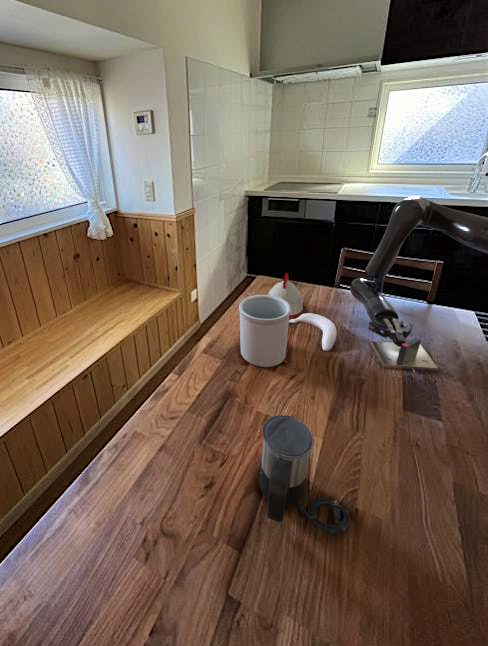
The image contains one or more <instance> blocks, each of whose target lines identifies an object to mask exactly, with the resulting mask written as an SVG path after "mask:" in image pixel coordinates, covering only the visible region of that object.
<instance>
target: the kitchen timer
mask: <svg viewBox="0 0 488 646" xmlns="http://www.w3.org/2000/svg"><path fill="white" fill-rule="evenodd" d="M289 277H290V276H289V273H287V272H286V273H285V274H284V277H283V280H282V281H279V282H278V283H276V284H275V285H274V286H272V288H270V289H269V290H268V292H267V294H266V295H272V296H276V297H279V298H281V299H283V300H285V301H286V302H287V303H288V304H289V306H290V315H289V320H291V319H296V318H298V317H299V316H300V315H302V314H303V311H304V308H303V307H304V302H303V300H304V299H303V293H302V292H300V291H299V289H298V288H297V286H296V285H295V284H294V283H292V282H290V281H289Z"/></svg>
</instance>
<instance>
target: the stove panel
mask: <svg viewBox="0 0 488 646" xmlns="http://www.w3.org/2000/svg"><path fill="white" fill-rule="evenodd" d="M370 345H371V347H372V349H373V351H374V353H375V355H376V357H377V358H378V360H379V362H380V364H381V366H382V368H384V369H385V368H386V369H400V370H412V372H413V373H416V371H429V372H438V371H439V367H438V365H436V363H435V361H434V360H433V359H432V358H431V356H430V355H429V354H428V352H427V351H426V350H425V347H423V346H422V344H421V343H420V346H419V349H418V352H417V356H416V357H415V358H413V359H411V360H410V361H408V362H406V363H405V364H403V365H401V364H399V363H398V362H397V358H398V355H399V351H400V347H398V346H397V345H395V344H394V342H387V341H371V343H370Z"/></svg>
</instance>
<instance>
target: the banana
mask: <svg viewBox="0 0 488 646" xmlns="http://www.w3.org/2000/svg"><path fill="white" fill-rule="evenodd" d="M289 323H293V324H296V323H303V324H310V325H313V326H315V327H316V328H318V329H320V331H322V338H321V348H322V350H323V351H325V352H329V351H330V350H331V349H333V347H334V345H335V343H336V340H337V335H338V332H337V331H338V330H337V327H336V325H335V323H334V322H332V320H330V319H329V318H326V317H325V316H323V315H320V314H316V313H313V312H312V313H311V312H307V313H302V314H301V315H300V316H299V317H297V318H294V319H289Z"/></svg>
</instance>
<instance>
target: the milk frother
mask: <svg viewBox="0 0 488 646" xmlns="http://www.w3.org/2000/svg"><path fill="white" fill-rule="evenodd" d="M261 436H262V449H261V461H260V462H261V463H260V472H259V487H260V490H261V492H262V493H263V495H264V497H265V498H266V499H267V511H266V515H267V518H268V519H270V520H272V521H274V522H277V523H282V522H283V521H284V517H285V516H284V515H285V508H290V507H294V506H296V507H297V508H298V509H299V511H301V514H302V515H303V516H304V517H305V518H306V520H308V522H309V523H310V524H311V525H312V526H313V527H314V528H316V529H317V530H319V531H321V532H322V533H325V534H328V535H339V534H342V533H344V532H346V531H348V530H349V528H350V526H351V523H352V519H351V515H350V512H349V511H348V510H347V509H346V508H345V507H344V505H342V504H341V503H339V502H338V501H337V500H332V499H328V498H317V499H316V500H313V501H311V503H309V505H308V507H307V511H306V509H305V508H304V507H303V505H302V504H301V502H302V500H303V499H304V496H305V493H306V481H307V473H308V468H309V467H308V466H309V461H310V455H311V450H312V449H313V446H314V437H313V434H312V432H311V430H310V429H309V427H307V425H306V424H305V423H304V422H302V421H301V420H299V419H298V418H295V417H293V416H291V415H285V414H283V415H282V414H281V415H280V414H279V415H273V416H272V417H271V416H270V417H269V418H268V419H267V420H266V421H264V423H263V425H262V428H261ZM322 506H330V507H329V508H330V510H329V511H330V514H332V523H333V524H327V523H324V522H322V521H321V520H320V519H319V518H317V516H316V514H315V513H316V511H317V509H319V508H320V507H322Z"/></svg>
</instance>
